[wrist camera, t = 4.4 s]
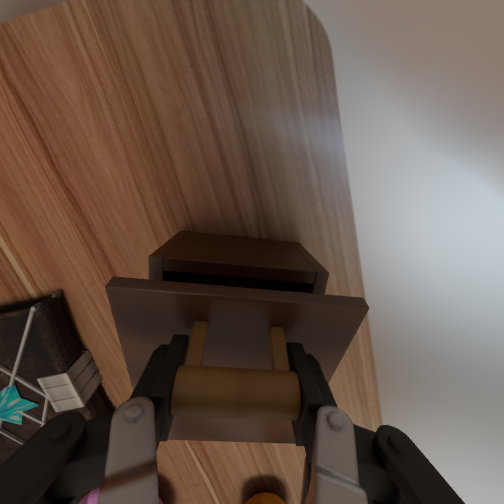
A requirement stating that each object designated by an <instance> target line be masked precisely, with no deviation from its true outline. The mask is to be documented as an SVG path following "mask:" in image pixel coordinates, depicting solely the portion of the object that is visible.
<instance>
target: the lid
mask: <svg viewBox="0 0 504 504" xmlns="http://www.w3.org/2000/svg"><path fill="white" fill-rule="evenodd" d="M105 288H106V292H107V295H108V299H109V303H110V306H111V310H112V314H113V318H114V321H115V325H116V329H117V332H118V336H119V340H120V343H121V347H122V351H123V354H124V358H125V362H126V365H127V369H128V373H129V376H130V380H131V384H132V387H133V391H134V389H135V387H136V385H137V383H138V381H139V379H140V377H141V375H142V373H143V371H144V369H145V367H146V365H147V363H148V362H149V359H150V357H151V355H152V353H153V351H154V350H155V349H156V348H157V347H159V346H160V345H161V344H170V342H171V339H172V337H173V335H174V334H181V335H189V347H188V351H187V355H186V359H185V363H184V365H179V367H178V369H177V371H176V374H175V378H174V382H173V386H172V392H171V399H170V415H171V416H174V418H173V421H172V425H171V428H170V432H169V436H168V439H169V440H200V441H232V442H263V443H294V444H295V443H296V442H295V437H294V433H293V428H292V423H291V421H296V420H298V418H299V416H300V411H301V389H300V383H299V379H298V376H297V374H296V372H294V371H290V368H289V362H288V355H287V349H286V343H287V342H296V343H302V345H303V348H304V350H305V353H306V354H312V355H313V356H314V357H315V358H316V359H317V361H318V362H319V364H320V366H321V369H322V372H323V373H324V376H325V379H326V381H327V383H329V381H330V380H331V378H332V376H333V374H334V372H335V370H336V369H337V367H338V365H339V363H340V361H341V359H342V358H343V356H344V354H345V352H346V350H347V348H348V347H349V345H350V343H351V341H352V339H353V337H354V336H355V334H356V332H357V330H358V328H359V326H360V325H361V323H362V321H363V319H364V317H365V315H366V314H367V312H368V310H369V306H368V305H367V303H366V301H365V300H364V298H360V297H348V296H336V295H325V294H313V293H301V292H289V291H278V290H266V289H254V288H242V287H231V286H219V285H207V284H195V283H183V282H172V281H160V280H148V279H136V278H125V277H112V278H111V280H110V281H109V282H108V283H107V285H106V286H105Z"/></svg>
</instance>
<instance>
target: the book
mask: <svg viewBox="0 0 504 504" xmlns="http://www.w3.org/2000/svg"><path fill="white" fill-rule="evenodd" d="M60 295H61V291H60V290H57V291H56V292H54V293H52V296H49V297H44V298H40V299H36V300H31V301H27V302H23V303H18V304H14V305H10V306H5V307H0V466H1V465H2V464H3V463H4V462H5V461H6V460H7V459H8V458H9V457H10V456H11V455H12V454H13V453H14V452H15V451H16V450H17V449H19V448H20V447H21V446H22V445H23V444H24V443H25V442H26V441H27V440H28V439H29V438H30V437H31V436H32V435H33V434H34V433H35V432H36V431H37V430H38V429H39V428H41V427H42V426H43V425H44V424H45V423H46V422H48V421H49V420H50V419H52V418H54V417H56V416H58V415H60V414H63V413H67V412H79V413H81V414H82V415H83V416H84V417H85V420H86V421H87V420H91V419H95V418H99V417H103V416H106V415H109V414H111V411H110V410H109V408H108V407H107V405H106V404H105V402H104V400H103V399H102V397H101V395H100V392H99V390H98V386H99V385H100V383H101V382H102V378H101V376H100V374H99V372H98V370H97V368H96V366H95V364H94V362H93V360H92V358H91V355H90V353H89V351H88V350H85V351H80V349H79V347H78V345H77V343H76V341H75V338H74V336H73V334H72V331H71V329H70V326H69V324H68V321H67V319H66V316H65V314H64V311H63V309H62V306H61V304H60V301H59V298H60Z"/></svg>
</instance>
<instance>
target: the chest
mask: <svg viewBox="0 0 504 504" xmlns="http://www.w3.org/2000/svg"><path fill="white" fill-rule="evenodd" d="M328 276H329V272H328V271H327V270H326V269H325V268H324V267H323V266H322V265H321V264H320V263H319V262H318V261H317V260H316V259H315V258H314V257H313V256H312V255H311V254H310V253H309V252H308V251H307V250H306V249H305V248H304V247H303V246H302V245H301V244H300V243H294V242H284V241H274V240H265V239H255V238H245V237H235V236H226V235H216V234H206V233H196V232H186V231H180V232H179V233H177V234H176V235H175V236H173V237H172V238H171V239H170V240H168V241H167V242H166V243H165V244H163V245H162V246H161V247H160V248H159V249H157V250H156V251H155V252H154V253H152V254H151V255H150V256H149V280H160V281H172V282H183V283H195V284H207V285H219V286H231V287H242V288H254V289H266V290H278V291H289V292H301V293H313V294H325V289H326V285H327V280H328Z"/></svg>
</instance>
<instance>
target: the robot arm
mask: <svg viewBox="0 0 504 504" xmlns="http://www.w3.org/2000/svg"><path fill="white" fill-rule="evenodd" d="M188 347H189V335H181V334H174V335H173V337H172V339H171V342H170V344H161V345H160V346H159V347H157V348H156V349H155V350H154V351H153V353H152V355H151V357H150V359H149V362H148V363H147V365H146V367H145V369H144V371H143V373H142V375H141V377H140V379H139V381H138V383H137V385H136V387H135V389H134V391H133V393H132V395H131V397H130V399H128V400H127V401H125V402H123V403H122V404H121V405H120V406H119V407H118V408H117V409H116V410H115V412H114V413H111V414H109V415H106V416H103V417H99V418H95V419H91V420H87V421H86V420H85V417H84V416H83V415H82V414H81V413H79V412H67V413H63V414H60V415H58V416H56V417H54V418H52V419H50V420H49V421H48V422H46V423H45V424H44V425H43V426H42V427H41V428H39V429H38V430H37V431H36V432H35V433H34V434H33V435H32V436H31V437H30V438H29V439H28V440H27V441H26V442H25V443H24V444H23V445H22V446H21V447H20V448H19V449H17V450H16V451H15V452H14V453H13V454H12V455H11V456H10V457H9V458H8V459H7V460H6V461H5V462H4V463H3V464H2V465H1V466H0V504H79V502H80V501H81V499H82V498H83V496H84V495H85V493H86V492H89V491H91V490H94V489H97V488H100V490H99V496H98V503H97V504H159V497H158V474H157V461H156V452H157V449H158V445H159V442H160V441H167V439H168V436H169V432H170V428H171V425H172V421H173V418H174V416H171V415H170V399H171V392H172V386H173V382H174V378H175V374H176V371H177V369H178V367H179V365H184V363H185V359H186V355H187V351H188ZM286 349H287V355H288V362H289V368H290V371H294V372H296V374H297V376H298V379H299V383H300V389H301V411H300V416H299V418H298V420H296V421H291V423H292V428H293V433H294V437H295V442H296V446H304V447H305V451H306V457H305V462H304V472H303V482H302V492H301V503H300V504H465V503H464V502H463V501H462V500H461V498H460V497H459V496H458V495H457V494H456V492H455V491H454V490H453V489H452V488H451V487H450V485H449V484H448V483H447V482H446V481H445V479H444V478H443V477H442V476H441V475H440V474H439V472H438V471H437V470H436V469H435V468H434V466H433V465H432V464H431V463H430V462H429V460H428V459H427V458H426V457H425V456H424V455H423V453H422V452H421V451H420V450H419V449H418V448H417V446H416V445H415V444H414V443H413V442H412V440H411V439H410V438H409V437H408V436H407V435H406V434H405V433H403V432H402V431H400V430H399V429H397V428H395V427H392V426H389V425H382V426H380V427H379V428H378V429H377V431H376V432H373V431H370V430H368V429H365V428H362V427H359V426H357V425H355V424H353V423H352V421H351V419H350V418H349V416H348V415H347V414H346V413H345V412H344V411H342V410H341V409H339V408H338V407H337V404H336V402H335V400H334V397H333V395H332V392H331V390H330V388H329V385H328V383H327V381H326V379H325V376H324V373H323V372H322V369H321V366H320V364H319V362H318V361H317V359H316V358H315V357H314V356H313V355H312V354H306V353H305V350H304V348H303V345H302V343H296V342H287V343H286Z"/></svg>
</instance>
